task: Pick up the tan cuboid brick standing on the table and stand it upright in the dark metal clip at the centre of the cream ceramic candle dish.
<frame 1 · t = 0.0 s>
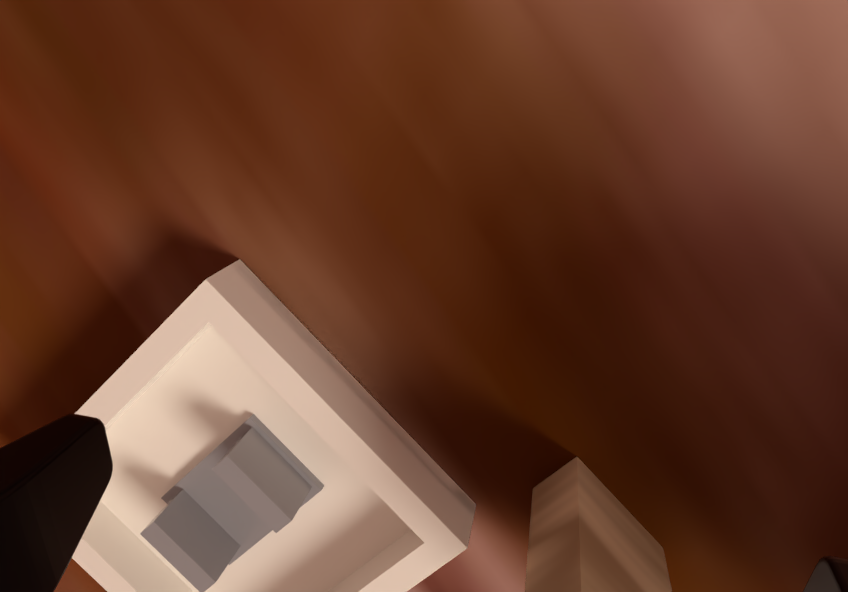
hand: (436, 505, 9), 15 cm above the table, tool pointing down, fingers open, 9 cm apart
dish: (251, 478, 28), on the table
tan cuboid brick: (597, 517, 26), on the table
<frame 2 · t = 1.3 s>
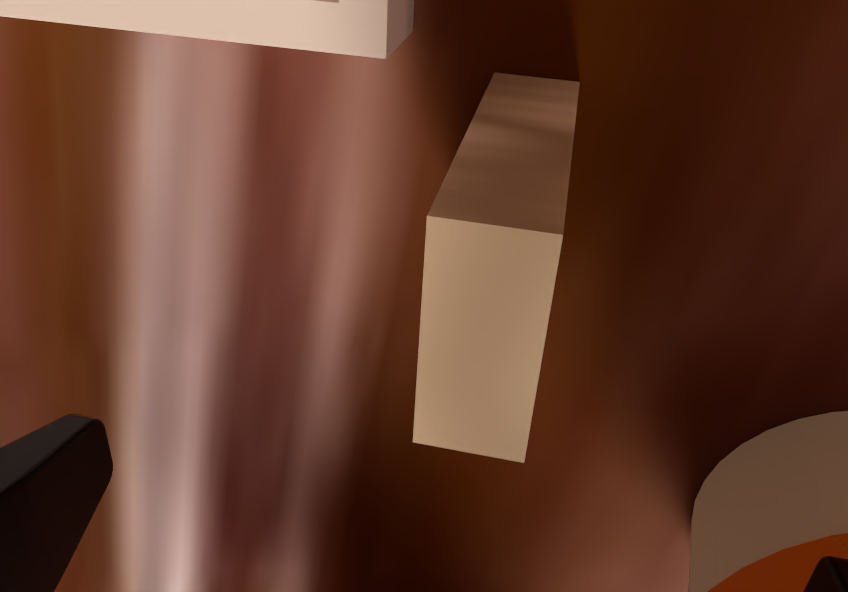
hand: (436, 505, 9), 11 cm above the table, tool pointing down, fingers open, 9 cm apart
reusable coffee cup: (846, 521, 23), on the table
tan cuboid brick: (524, 167, 19), on the table
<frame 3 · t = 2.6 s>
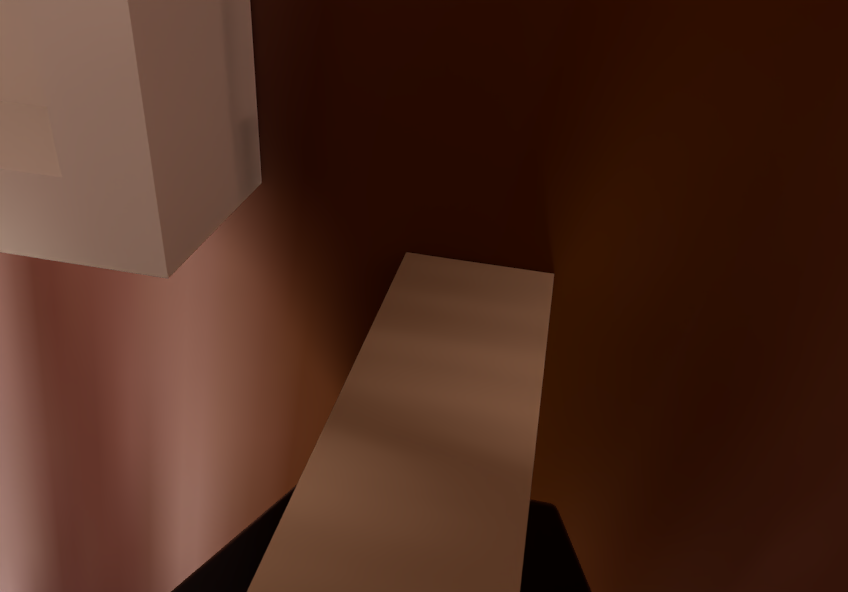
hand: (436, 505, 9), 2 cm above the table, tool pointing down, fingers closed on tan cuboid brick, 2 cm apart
tan cuboid brick: (465, 393, 11), on the table, touching gripper
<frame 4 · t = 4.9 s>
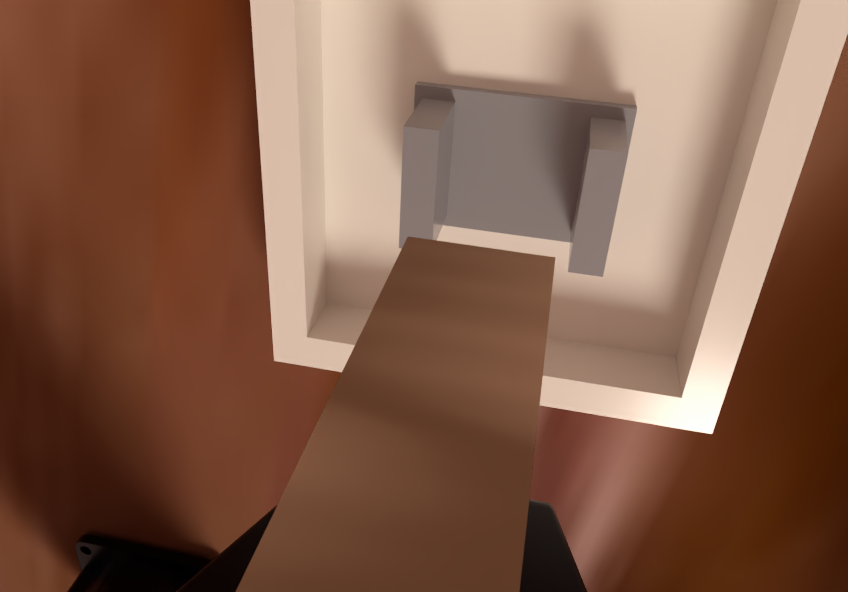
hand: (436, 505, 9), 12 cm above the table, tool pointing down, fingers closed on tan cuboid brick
dish: (518, 153, 20), on the table
tan cuboid brick: (466, 379, 11), point 10 cm above the table, touching gripper
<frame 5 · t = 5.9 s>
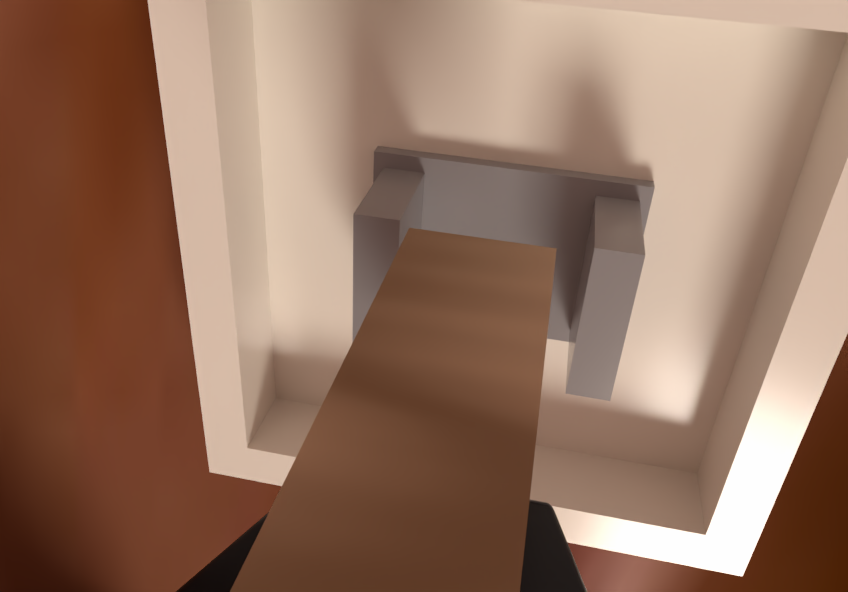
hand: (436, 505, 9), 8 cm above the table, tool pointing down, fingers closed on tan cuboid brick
dish: (505, 229, 16), on the table
tan cuboid brick: (467, 371, 11), point 5 cm above the table, touching gripper
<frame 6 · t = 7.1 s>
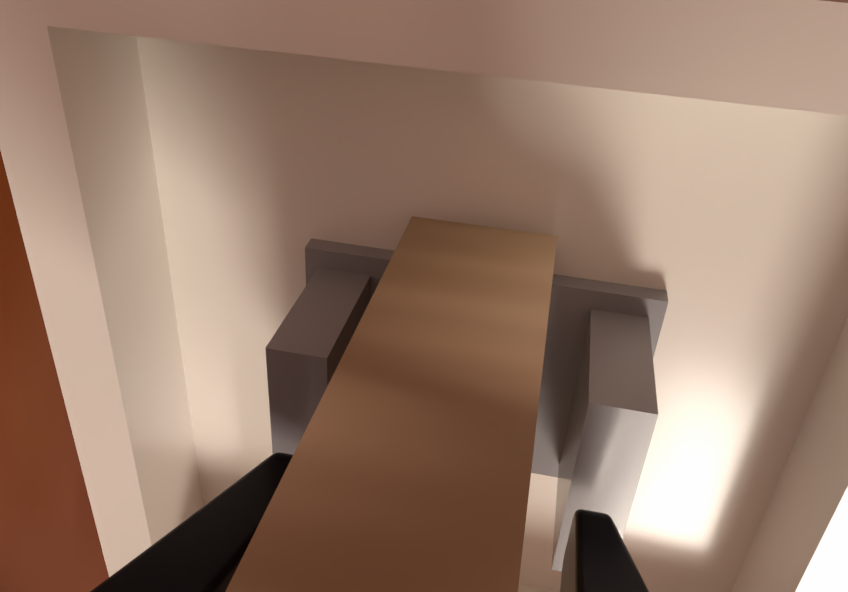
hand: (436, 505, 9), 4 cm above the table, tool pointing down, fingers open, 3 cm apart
dish: (479, 334, 13), on the table
tan cuboid brick: (469, 358, 11), point 1 cm above the table, touching dish
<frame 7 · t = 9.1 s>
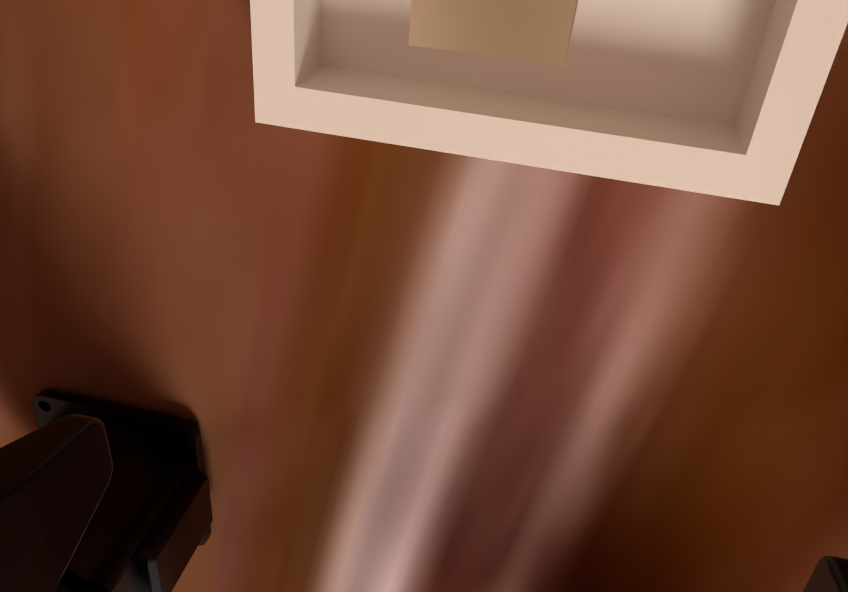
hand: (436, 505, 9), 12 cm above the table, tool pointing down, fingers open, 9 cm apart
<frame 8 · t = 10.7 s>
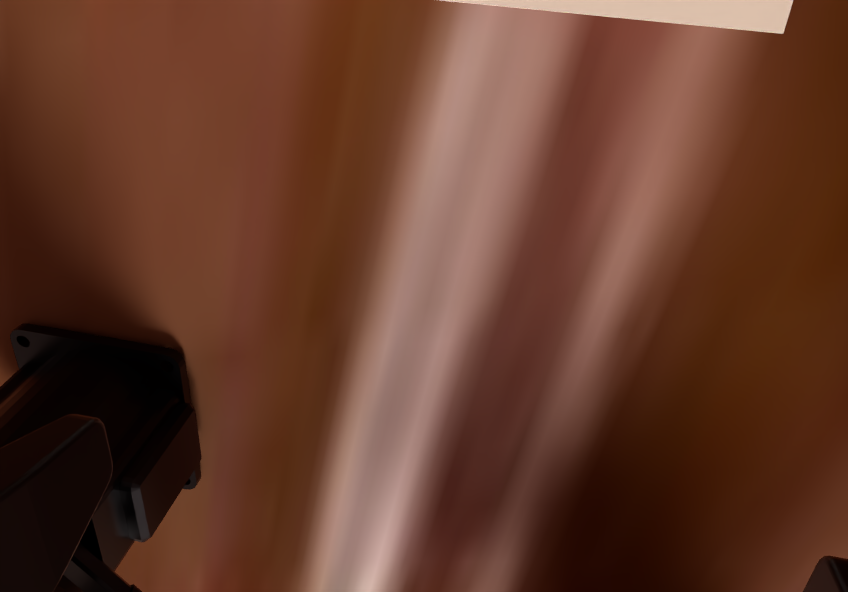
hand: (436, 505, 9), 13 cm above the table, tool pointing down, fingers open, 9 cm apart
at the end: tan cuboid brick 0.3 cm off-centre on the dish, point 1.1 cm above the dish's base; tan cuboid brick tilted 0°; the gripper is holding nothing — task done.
